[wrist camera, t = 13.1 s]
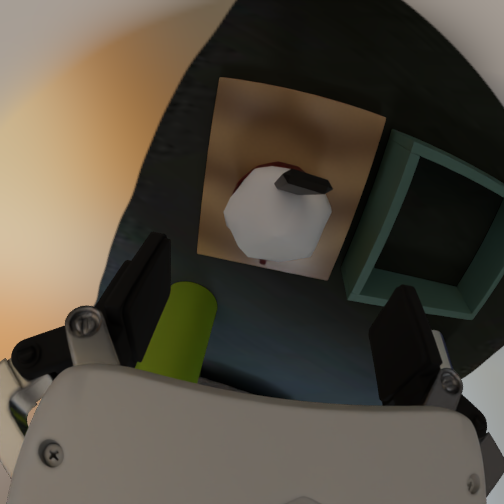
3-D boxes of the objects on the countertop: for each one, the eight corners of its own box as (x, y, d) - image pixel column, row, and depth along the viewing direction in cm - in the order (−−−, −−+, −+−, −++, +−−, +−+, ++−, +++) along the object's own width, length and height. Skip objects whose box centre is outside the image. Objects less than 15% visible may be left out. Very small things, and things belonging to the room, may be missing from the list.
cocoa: (276, 250, 25) (267, 373, 15) (213, 209, 23) (161, 320, 13) (354, 165, 20) (416, 260, 10) (286, 111, 18) (289, 152, 8)
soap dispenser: (173, 266, 29) (89, 456, 12) (228, 302, 31) (184, 492, 14) (150, 296, 32) (77, 457, 15) (199, 327, 33) (153, 489, 17)
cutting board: (223, 77, 18) (219, 77, 17) (380, 115, 19) (386, 118, 17) (200, 244, 27) (196, 253, 26) (326, 270, 27) (327, 280, 26)
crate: (391, 128, 19) (414, 141, 15) (512, 188, 19) (537, 209, 16) (340, 267, 27) (347, 300, 23) (457, 292, 27) (472, 320, 23)
